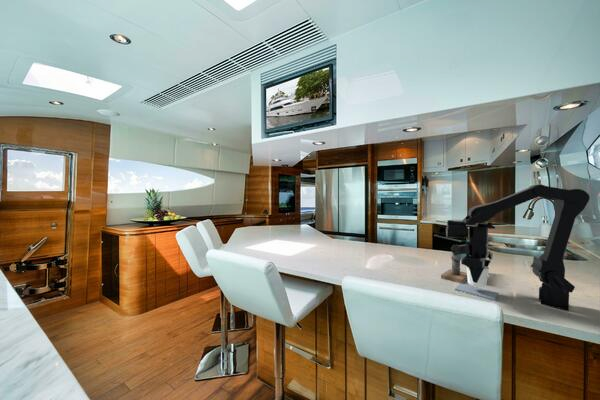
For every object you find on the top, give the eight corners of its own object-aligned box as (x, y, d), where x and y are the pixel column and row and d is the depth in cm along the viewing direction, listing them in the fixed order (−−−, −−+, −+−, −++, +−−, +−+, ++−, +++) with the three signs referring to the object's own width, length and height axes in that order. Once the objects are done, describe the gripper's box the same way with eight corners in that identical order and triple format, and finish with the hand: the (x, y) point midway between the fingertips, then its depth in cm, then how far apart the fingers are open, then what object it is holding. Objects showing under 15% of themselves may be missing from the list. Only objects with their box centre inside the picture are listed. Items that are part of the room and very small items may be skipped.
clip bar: (459, 261, 101) (459, 253, 101) (450, 259, 104) (450, 252, 104) (472, 253, 114) (472, 247, 114) (463, 252, 117) (464, 245, 117)
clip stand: (469, 276, 105) (470, 259, 105) (462, 283, 97) (462, 264, 97) (449, 272, 111) (450, 255, 111) (441, 278, 103) (441, 260, 103)
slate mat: (498, 294, 87) (498, 292, 87) (494, 300, 82) (494, 299, 82) (460, 284, 96) (460, 283, 96) (454, 290, 91) (454, 288, 91)
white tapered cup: (492, 288, 85) (493, 269, 84) (471, 286, 86) (471, 268, 86) (481, 281, 91) (482, 263, 91) (462, 280, 93) (462, 262, 92)
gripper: (460, 233, 100) (459, 269, 101) (445, 239, 88) (445, 280, 88) (493, 237, 92) (492, 276, 92) (482, 244, 80) (481, 289, 80)
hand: (477, 280), depth 89 cm, fingers closed on white tapered cup, 6 cm apart
